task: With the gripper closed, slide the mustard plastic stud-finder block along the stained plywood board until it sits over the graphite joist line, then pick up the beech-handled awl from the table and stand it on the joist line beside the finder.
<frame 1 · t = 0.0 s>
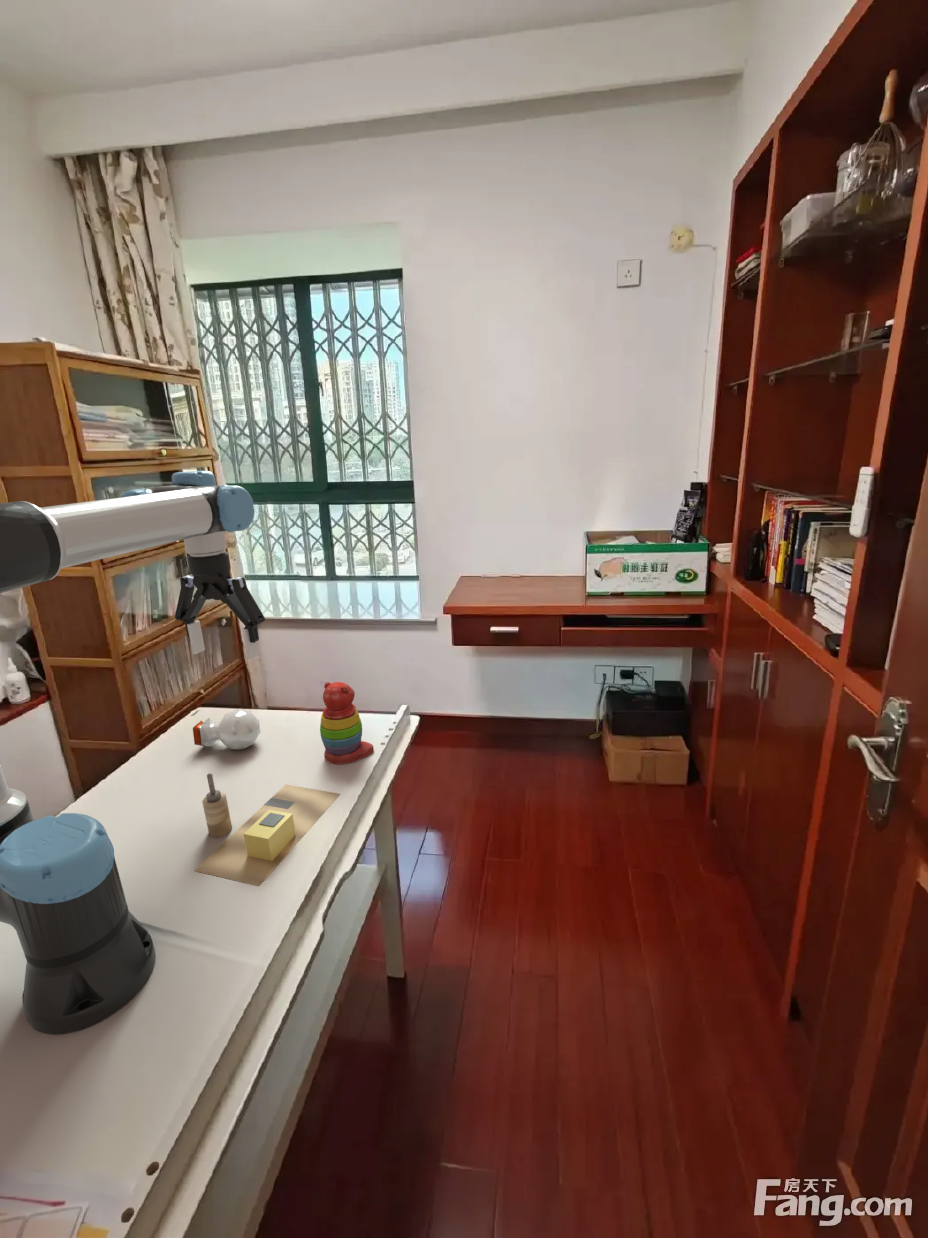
hand: (225, 654, 119), 28 cm above the table, fingers open, 13 cm apart
potion bottle: (230, 747, 139), on the table
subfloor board: (274, 834, 107), on the table
stacking bear: (345, 754, 134), on the table
awl: (221, 836, 107), on the table
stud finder: (272, 845, 102), point 1 cm above the table, touching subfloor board
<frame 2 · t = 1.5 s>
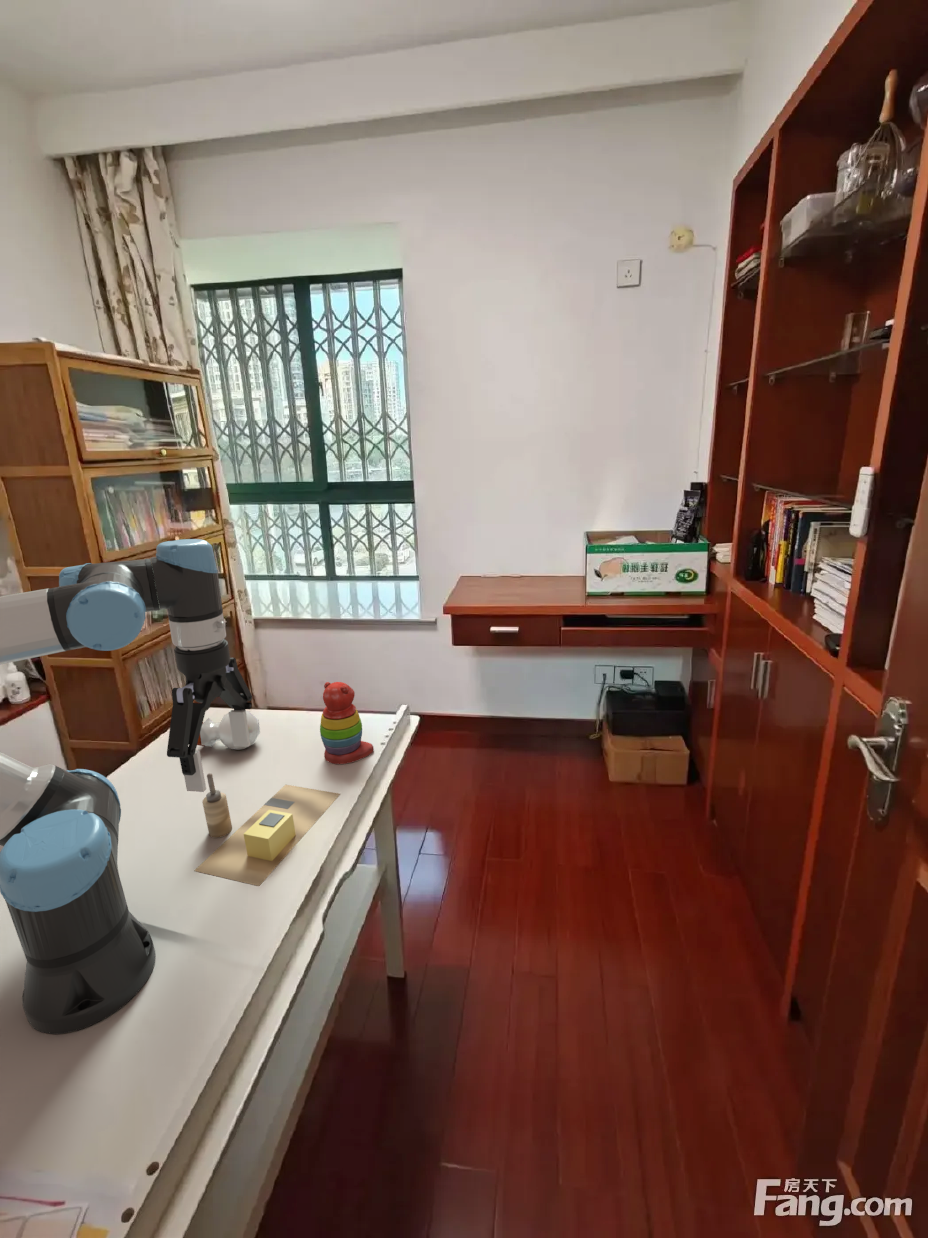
hand: (220, 766, 94), 19 cm above the table, fingers open, 13 cm apart
nothing on the table moved.
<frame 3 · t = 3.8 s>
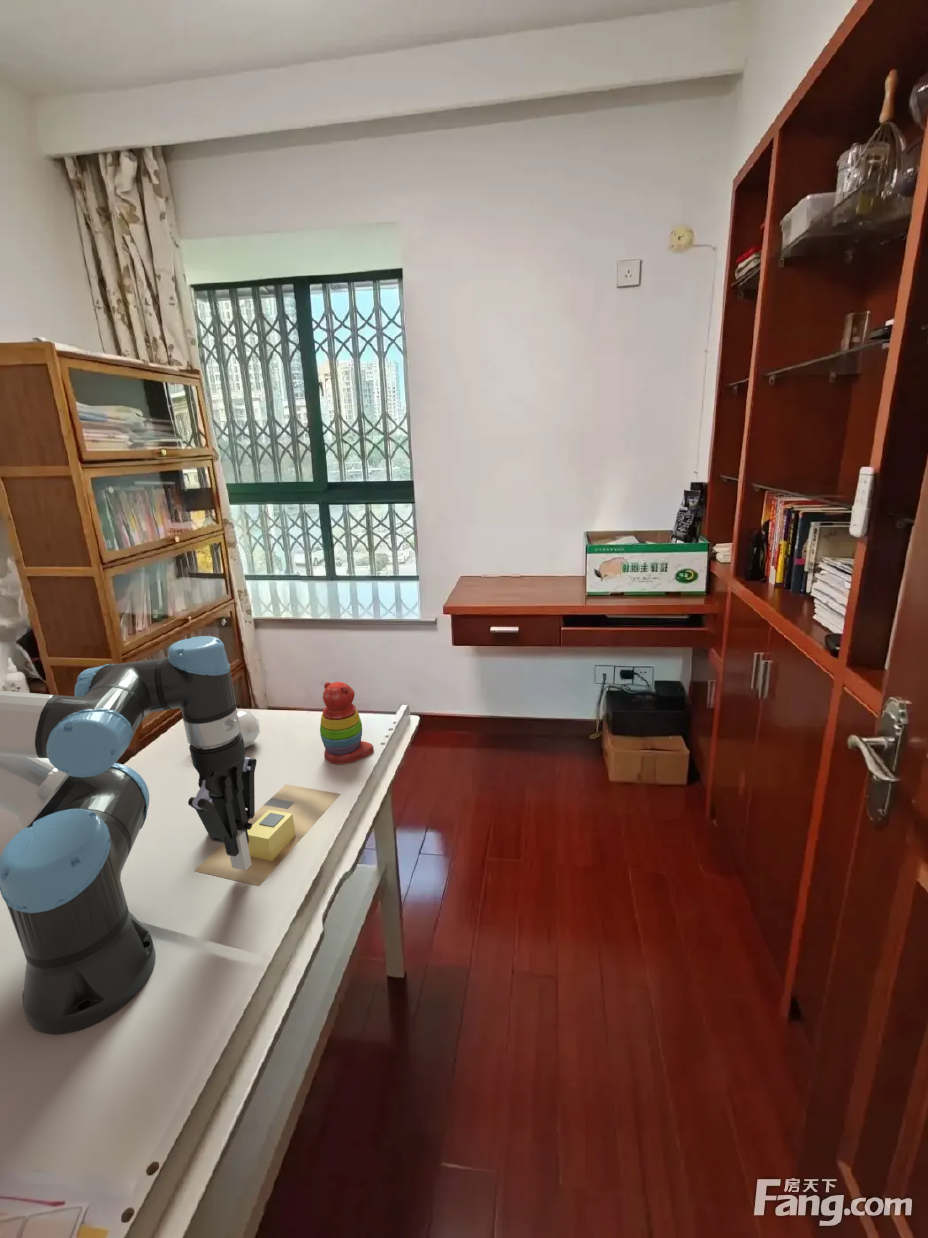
hand: (241, 866, 95), 3 cm above the table, fingers closed
nothing on the table moved.
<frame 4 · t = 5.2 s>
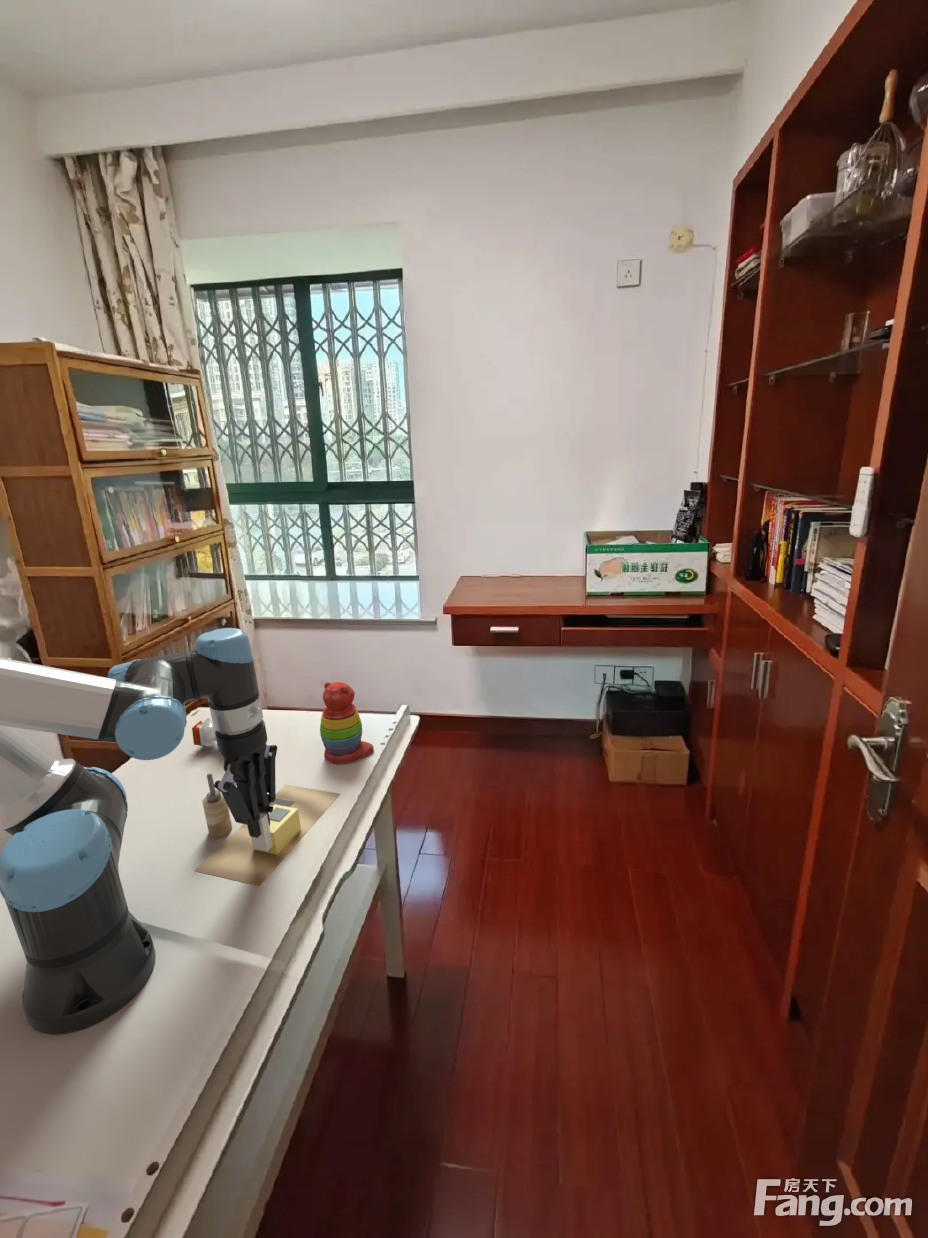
hand: (263, 847, 99), 3 cm above the table, fingers closed
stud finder: (277, 839, 104), point 1 cm above the table, touching gripper, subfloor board
everything else where it was.
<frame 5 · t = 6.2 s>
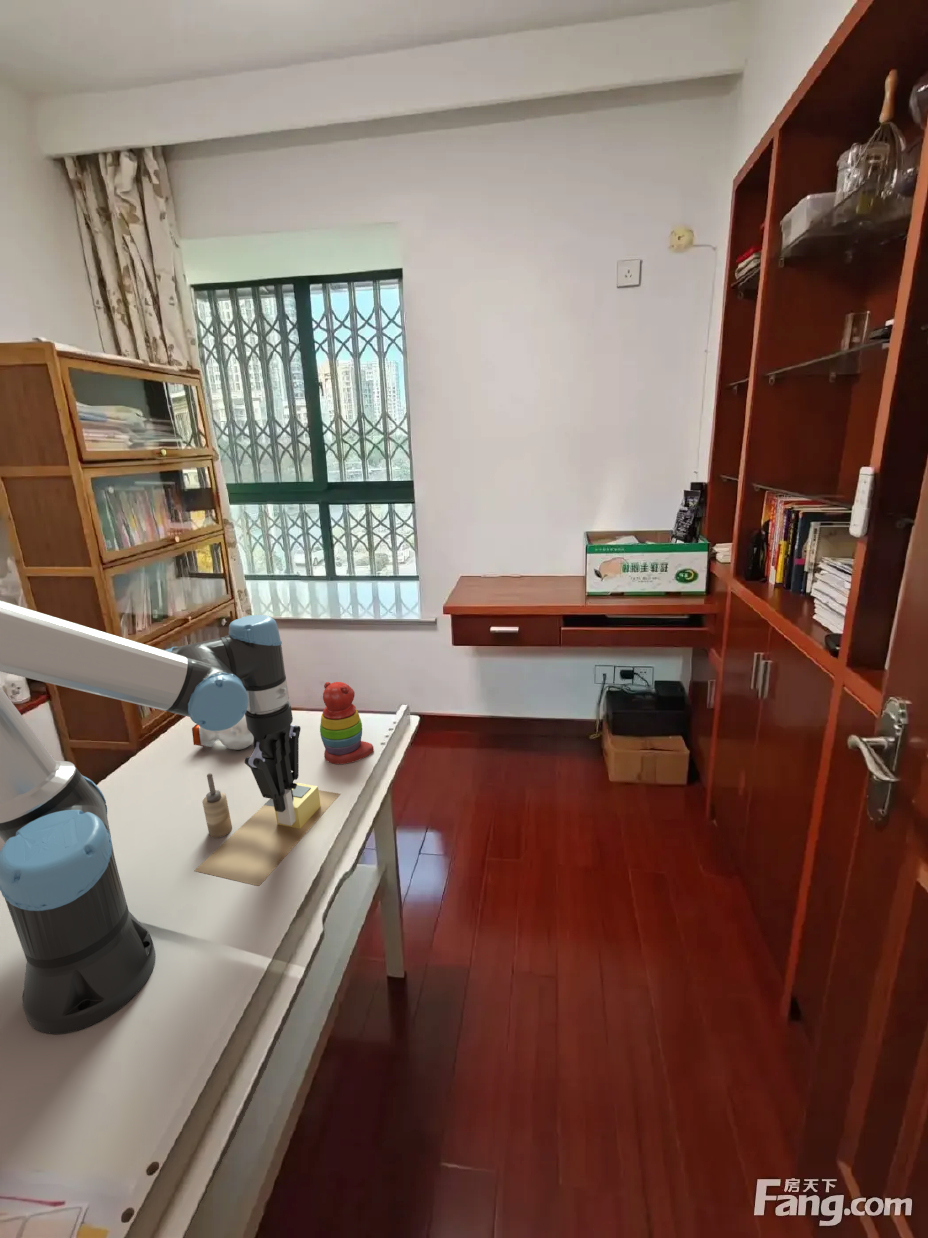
hand: (287, 821, 106), 3 cm above the table, fingers closed
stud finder: (299, 815, 110), point 1 cm above the table, touching gripper
everything else where it was.
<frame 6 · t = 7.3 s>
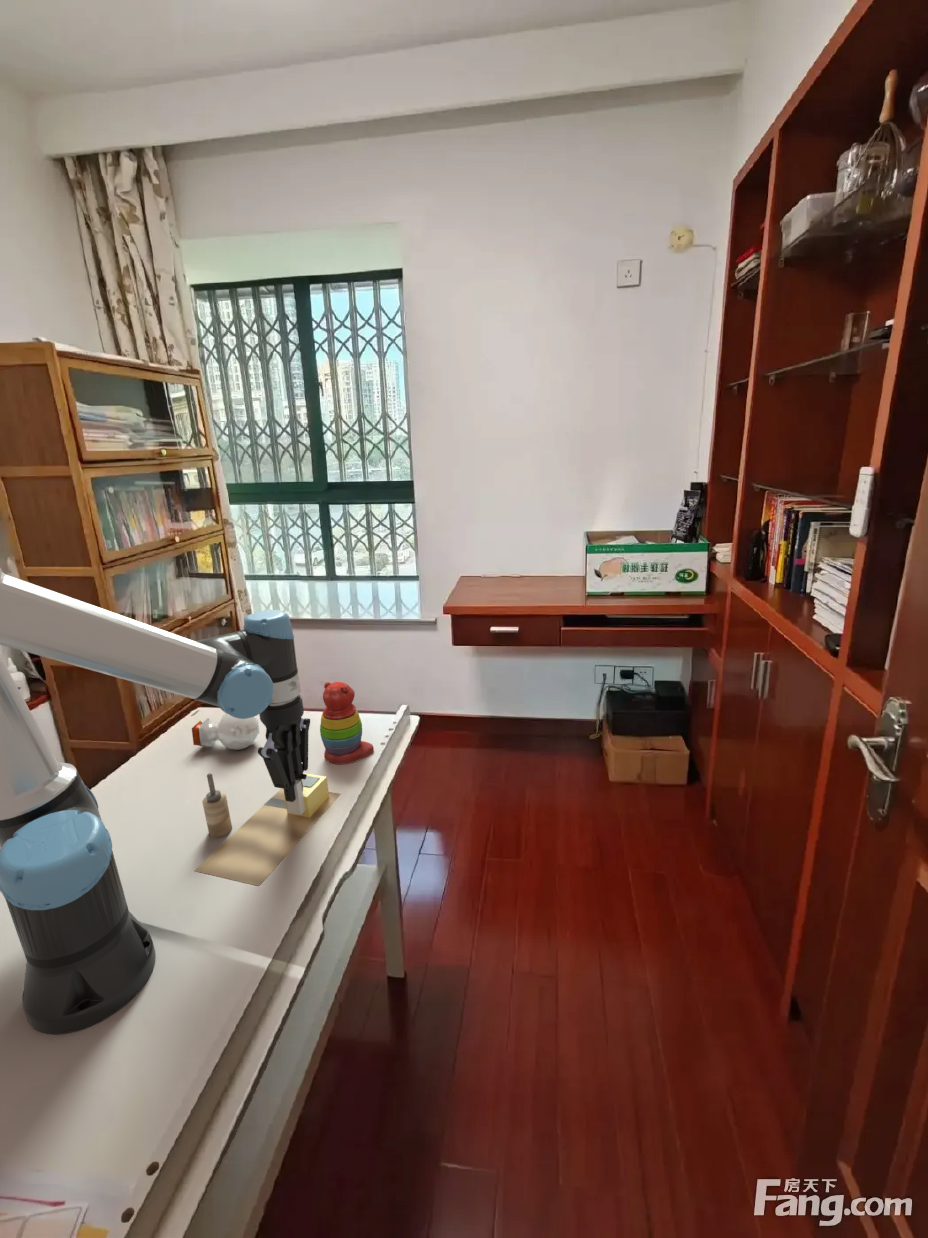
hand: (297, 811, 109), 3 cm above the table, fingers closed
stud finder: (308, 804, 113), point 1 cm above the table, touching gripper, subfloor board
everything else where it was.
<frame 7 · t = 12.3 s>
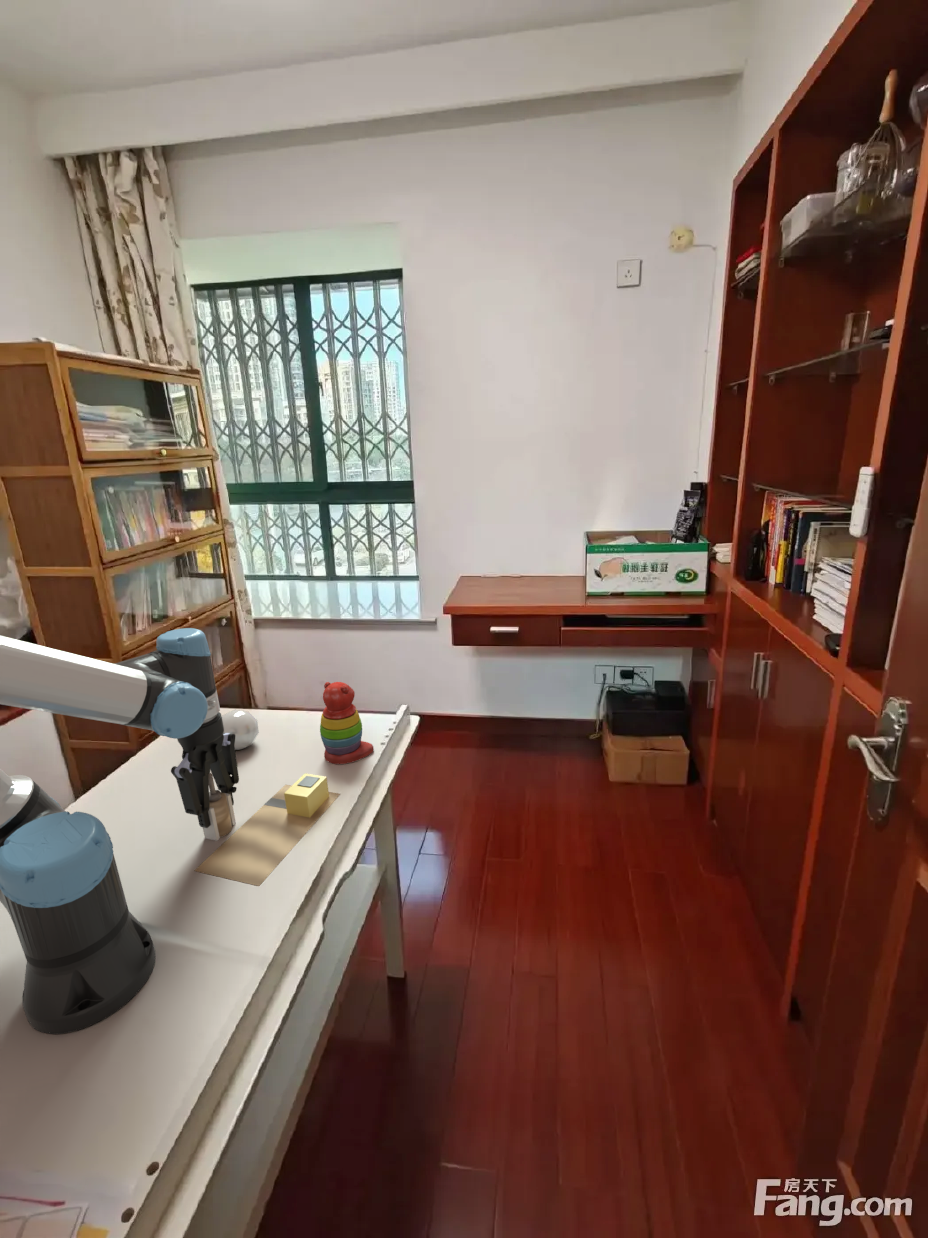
hand: (220, 830, 107), 1 cm above the table, fingers closed on awl, 4 cm apart
awl: (221, 835, 107), on the table, touching gripper
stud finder: (308, 804, 113), point 1 cm above the table, touching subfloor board
everything else where it was.
when the fingers open (4 cm above the table, at t = 16.6 s): awl stays where it is, resting on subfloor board.
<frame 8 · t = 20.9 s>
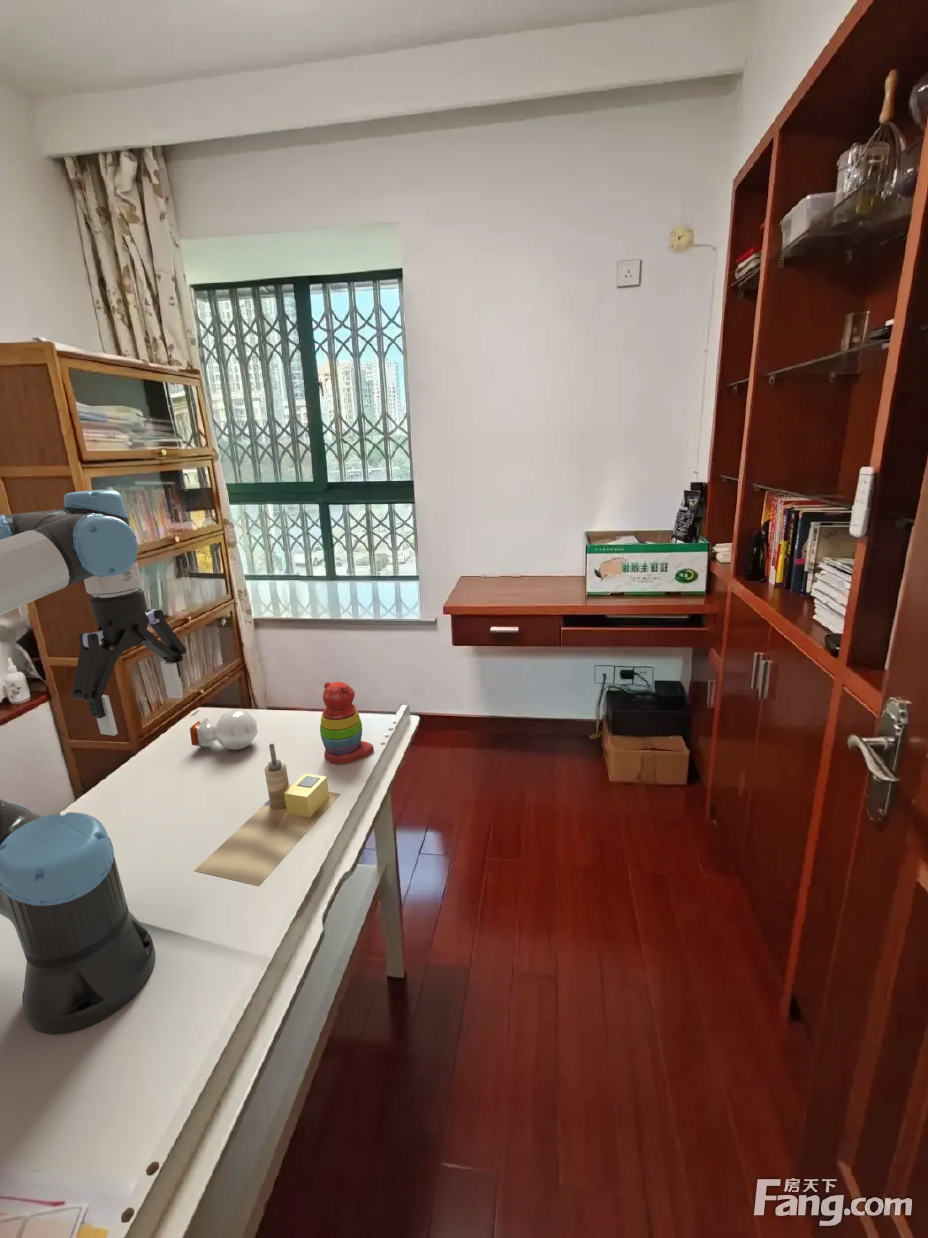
hand: (144, 714, 97), 27 cm above the table, fingers open, 13 cm apart
awl: (281, 803, 114), point 1 cm above the table, touching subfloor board
everything else where it was.
at the end: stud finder inside the target area (0.7 cm from its centre), point 1.2 cm above the table; awl 0.1 cm from the target spot, point 1.2 cm above the table; awl tilted 0° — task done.
